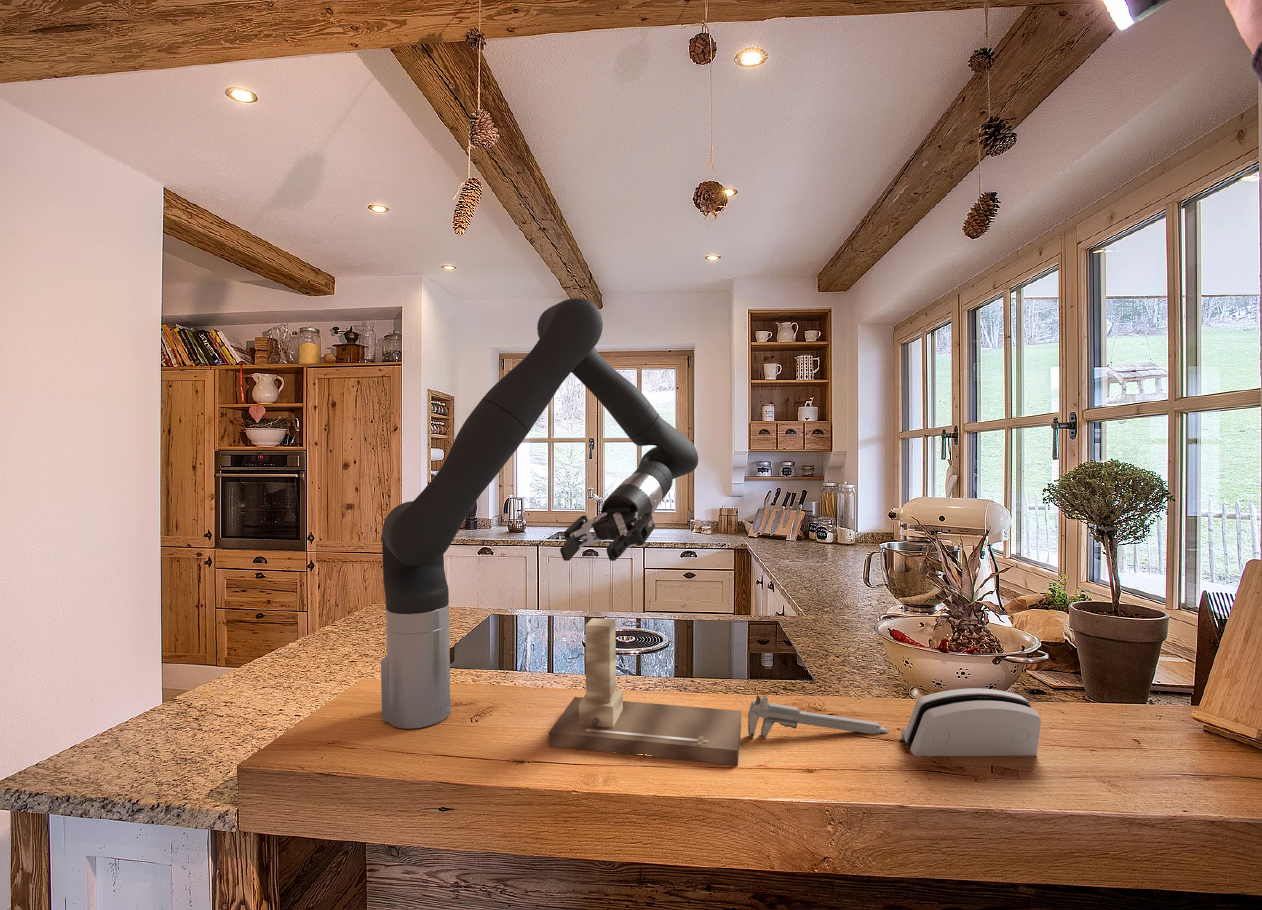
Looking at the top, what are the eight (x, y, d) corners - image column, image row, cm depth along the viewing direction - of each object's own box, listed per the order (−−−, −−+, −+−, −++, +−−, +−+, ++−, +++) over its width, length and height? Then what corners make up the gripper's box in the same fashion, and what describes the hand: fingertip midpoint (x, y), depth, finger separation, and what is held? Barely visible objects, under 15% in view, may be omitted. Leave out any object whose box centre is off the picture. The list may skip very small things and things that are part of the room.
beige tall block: (577, 726, 88) (576, 628, 87) (590, 706, 94) (589, 615, 94) (611, 730, 87) (611, 630, 86) (622, 709, 93) (621, 617, 93)
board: (549, 746, 86) (548, 731, 86) (574, 709, 98) (574, 696, 98) (737, 765, 81) (737, 749, 81) (741, 724, 92) (741, 710, 92)
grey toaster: (1015, 737, 88) (1031, 680, 84) (1035, 764, 83) (1053, 706, 80) (897, 738, 88) (908, 681, 84) (911, 765, 83) (923, 707, 80)
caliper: (749, 740, 88) (749, 697, 88) (747, 737, 89) (747, 694, 89) (888, 735, 89) (888, 692, 89) (885, 731, 90) (885, 689, 90)
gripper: (592, 485, 107) (540, 535, 95) (663, 480, 100) (618, 533, 87) (605, 523, 110) (557, 576, 97) (676, 520, 103) (634, 577, 90)
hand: (586, 555), depth 92 cm, fingers open, 8 cm apart
